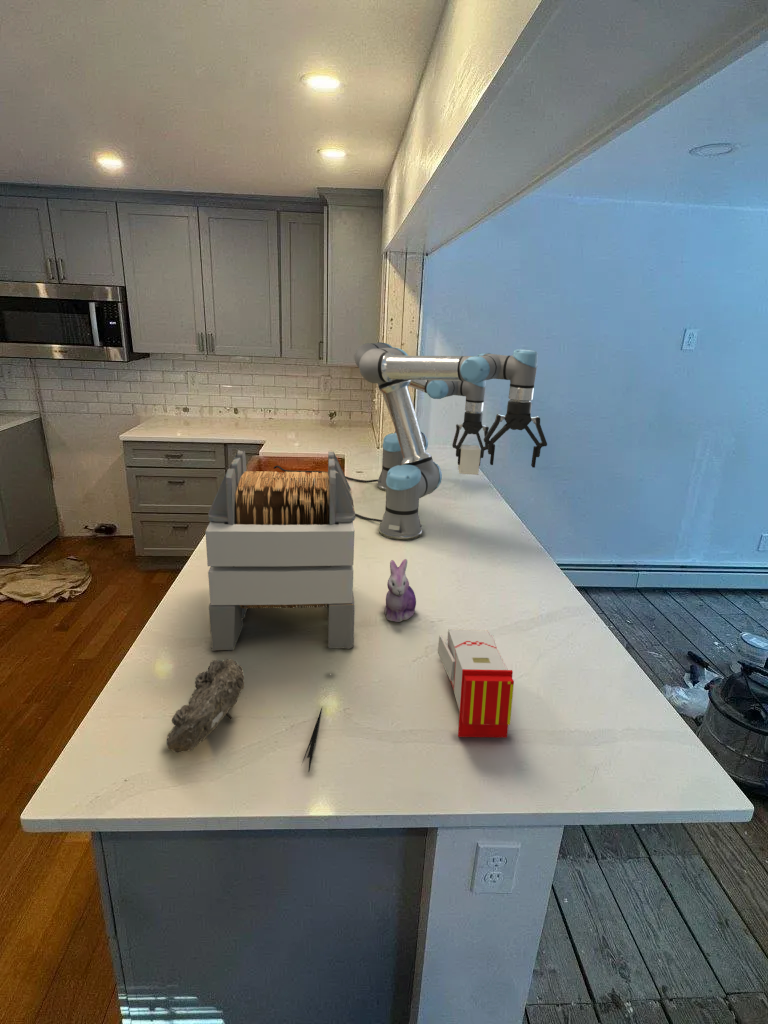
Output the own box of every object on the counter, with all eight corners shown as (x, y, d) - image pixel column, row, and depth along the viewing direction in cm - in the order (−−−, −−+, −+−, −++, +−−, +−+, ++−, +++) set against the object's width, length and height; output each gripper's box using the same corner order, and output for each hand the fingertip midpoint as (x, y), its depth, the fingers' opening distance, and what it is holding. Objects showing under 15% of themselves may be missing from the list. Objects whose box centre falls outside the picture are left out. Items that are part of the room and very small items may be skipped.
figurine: (392, 627, 141) (395, 572, 136) (374, 608, 149) (376, 556, 144) (425, 619, 145) (429, 566, 140) (405, 601, 154) (408, 550, 149)
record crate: (231, 583, 159) (223, 441, 145) (347, 582, 163) (350, 443, 149) (209, 653, 127) (196, 479, 114) (354, 649, 131) (359, 481, 117)
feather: (331, 679, 122) (336, 673, 122) (307, 777, 96) (313, 769, 95) (324, 675, 122) (329, 669, 121) (298, 772, 95) (304, 764, 95)
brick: (478, 474, 241) (480, 450, 238) (459, 473, 241) (461, 449, 238) (476, 469, 250) (478, 445, 246) (458, 468, 250) (460, 444, 246)
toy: (488, 613, 130) (523, 677, 101) (484, 667, 133) (517, 744, 104) (435, 612, 130) (455, 676, 101) (432, 666, 133) (451, 743, 103)
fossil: (192, 660, 117) (244, 628, 112) (224, 691, 120) (276, 661, 115) (142, 746, 98) (202, 712, 93) (182, 779, 101) (242, 748, 96)
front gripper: (557, 400, 183) (548, 464, 190) (479, 396, 184) (473, 460, 191) (562, 404, 176) (552, 470, 183) (481, 400, 177) (475, 465, 184)
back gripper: (497, 411, 240) (491, 463, 248) (448, 409, 241) (444, 461, 248) (500, 414, 233) (494, 468, 241) (449, 412, 234) (445, 465, 241)
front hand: (512, 465), depth 187 cm, fingers open, 13 cm apart
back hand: (468, 464), depth 244 cm, fingers closed on brick, 8 cm apart
